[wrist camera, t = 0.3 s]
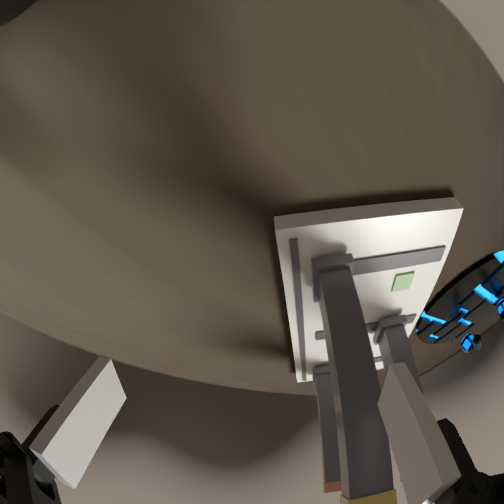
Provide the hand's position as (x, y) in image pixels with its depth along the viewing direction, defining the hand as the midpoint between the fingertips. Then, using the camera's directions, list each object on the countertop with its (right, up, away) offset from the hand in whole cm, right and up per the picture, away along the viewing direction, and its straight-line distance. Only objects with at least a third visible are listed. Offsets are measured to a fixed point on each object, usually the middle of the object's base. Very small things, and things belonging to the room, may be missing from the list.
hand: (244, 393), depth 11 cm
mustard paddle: (+7, +4, +11) cm, 14 cm away
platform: (+34, -1, +20) cm, 39 cm away
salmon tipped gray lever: (+11, -11, +26) cm, 30 cm away
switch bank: (+13, -1, +19) cm, 23 cm away
